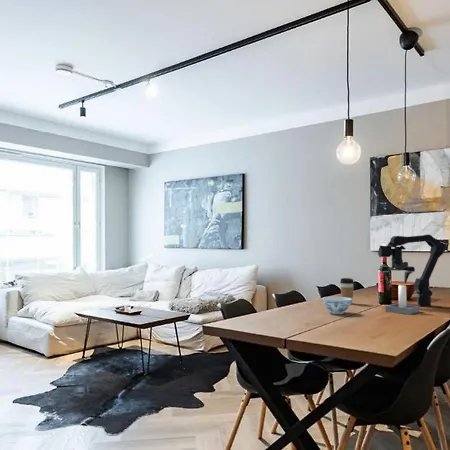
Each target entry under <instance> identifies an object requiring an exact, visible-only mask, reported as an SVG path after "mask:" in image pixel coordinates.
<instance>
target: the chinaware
mask: <svg viewBox="0 0 450 450" xmlns="http://www.w3.org/2000/svg"><path fill="white" fill-rule="evenodd" d="M322 301H323V304H324V306H325V308H326V309H327V310H328V311H330V314H333V315H342V314H344V312H345V311H347V310H348V309H349V308H350V306H351V305H352V304H351V301H352V302H353V299H351V298H347V297H342V296H324V297H322Z"/></svg>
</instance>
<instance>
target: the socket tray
mask: <svg viewBox="0 0 450 450" xmlns="http://www.w3.org/2000/svg"><path fill="white" fill-rule="evenodd" d="M385 312H387V313H395V314H404V315H412V314H416V313H420V306H419V305H413V304H407V308H401V307H399V303H393V304H389V305H385Z"/></svg>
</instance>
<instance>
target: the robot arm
mask: <svg viewBox="0 0 450 450" xmlns="http://www.w3.org/2000/svg"><path fill="white" fill-rule="evenodd" d="M420 242H425V243H426V244H427V245H428V246H429V247H430V250H429V251H430V252H429V253H430V254H429V258H428V260H427V262H426V264H425V267H424V269H423V270H422V271H423V272H422V274H421V275H420V277H419V278H418V277H416V278H415V281H414V283H413V289H414V291H416V294H417V297H416V298H417V299H416V301H417V302H416V306H419V307H432V306H433V305H432V296H433V291H432V290H430V289H429V288H430V279H431V276H432V275H433V272H434V271H435V270H434V269H435V267H436V264H437V262H438V261H439V259H440V257H441V256H442V255H443V254H444V252H445V251H446V250H447V245H446V244H445V243H444V242H441V241H440V240H439V239H437V238H435V237H434V236H432V235H431V234H424V235H411V236H403V235H394V236H392V237H391V238H390V241H389V242H388V243H387V245H379V248H378V251H377V254H378V257H379V258H390V257H391V259H390V260H391V267H389V266H387V265H380V266H379V271H380V272H381V273H383V274H384V276H385V277H386V280H387V282H388V284H390V283H391V282H390V281H391V280H390V271H404V276H403V277H404V280H403V282H404V284H405V285H406V284H407V281H408V279H409V276H410V274H413V272H414V273H415V271H416V269H415V267H414V266H409V262H408V261H403V250H406V249H407V248H406V247H405V246H404V245H407V244H410V243H420Z"/></svg>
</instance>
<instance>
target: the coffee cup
mask: <svg viewBox="0 0 450 450" xmlns="http://www.w3.org/2000/svg"><path fill="white" fill-rule="evenodd" d="M339 283H340V294H341V296H340V297H347V298H351V299H352V301H351V304H350V305H353V299H354V298H353V297H354V288H355V287H354V284H355V281H354V279H353V278H351V277H350V278H348V277H347V278H346V277H343V278H340V282H339Z"/></svg>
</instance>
